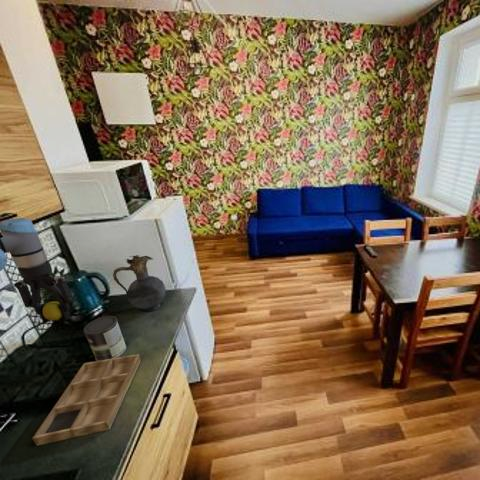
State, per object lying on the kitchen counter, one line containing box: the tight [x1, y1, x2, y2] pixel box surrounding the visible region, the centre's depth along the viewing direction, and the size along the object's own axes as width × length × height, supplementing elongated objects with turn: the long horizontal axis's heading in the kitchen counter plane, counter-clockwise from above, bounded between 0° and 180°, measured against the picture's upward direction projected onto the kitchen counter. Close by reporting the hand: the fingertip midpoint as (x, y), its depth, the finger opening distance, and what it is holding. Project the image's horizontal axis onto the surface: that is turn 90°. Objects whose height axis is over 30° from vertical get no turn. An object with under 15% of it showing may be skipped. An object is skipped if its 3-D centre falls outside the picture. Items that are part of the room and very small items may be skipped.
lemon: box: [43, 301, 63, 321], centre depth 97 cm, size 6×6×8 cm
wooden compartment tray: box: [31, 353, 141, 447], centre depth 89 cm, size 18×27×3 cm
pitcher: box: [112, 254, 167, 313], centre depth 128 cm, size 11×19×30 cm, turn 111°
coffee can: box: [83, 315, 127, 361], centre depth 105 cm, size 10×10×14 cm
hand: (57, 319), depth 98 cm, fingers closed on lemon, 5 cm apart
